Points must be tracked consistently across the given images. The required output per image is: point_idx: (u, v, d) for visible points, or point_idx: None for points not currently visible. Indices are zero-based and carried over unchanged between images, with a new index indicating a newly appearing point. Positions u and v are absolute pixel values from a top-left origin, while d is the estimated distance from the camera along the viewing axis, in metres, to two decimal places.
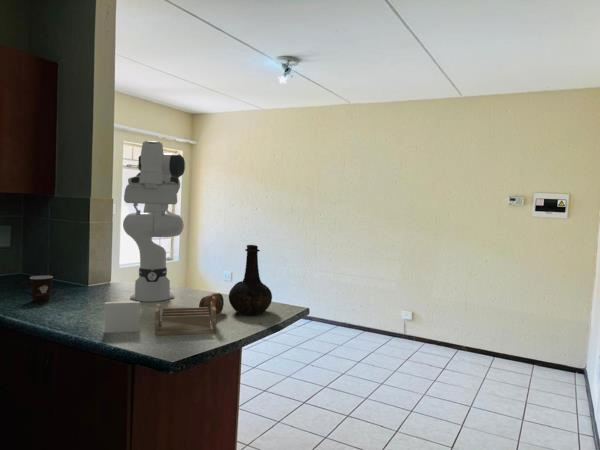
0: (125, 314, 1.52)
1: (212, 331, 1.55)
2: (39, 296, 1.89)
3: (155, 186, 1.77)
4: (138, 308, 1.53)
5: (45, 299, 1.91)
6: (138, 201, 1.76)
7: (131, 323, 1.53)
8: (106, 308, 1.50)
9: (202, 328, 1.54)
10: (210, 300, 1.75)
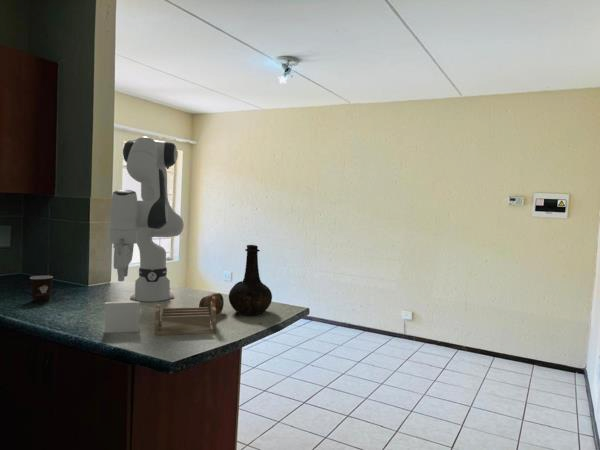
0: (125, 314, 1.52)
1: (212, 331, 1.55)
2: (39, 296, 1.89)
3: (114, 245, 1.49)
4: (138, 308, 1.53)
5: (45, 299, 1.91)
6: None
7: (131, 323, 1.53)
8: (106, 308, 1.50)
9: (202, 328, 1.54)
10: (210, 300, 1.75)
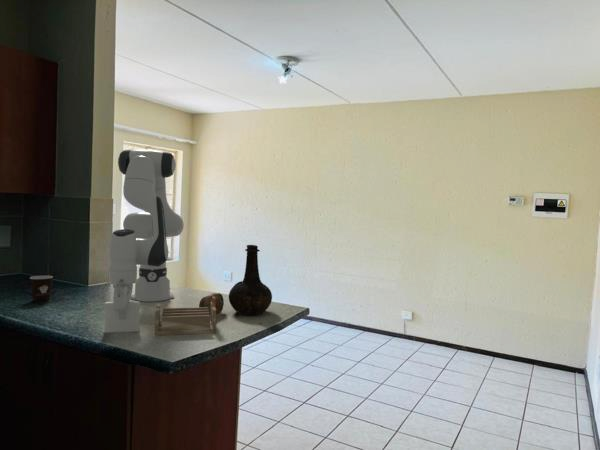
0: (125, 314, 1.52)
1: (212, 331, 1.55)
2: (39, 296, 1.89)
3: (114, 286, 1.50)
4: (138, 308, 1.53)
5: (45, 299, 1.91)
6: None
7: (131, 323, 1.53)
8: (106, 308, 1.50)
9: (202, 328, 1.54)
10: (210, 300, 1.75)
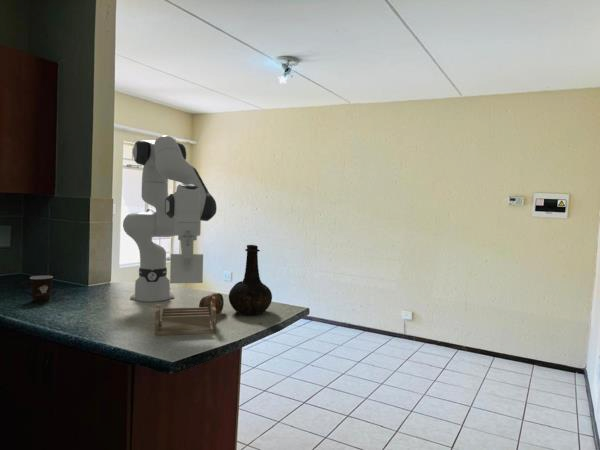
0: None
1: (212, 331, 1.55)
2: (39, 296, 1.89)
3: (179, 238, 1.55)
4: (202, 260, 1.58)
5: (45, 299, 1.91)
6: None
7: (195, 274, 1.57)
8: (172, 259, 1.55)
9: (202, 328, 1.54)
10: (210, 300, 1.75)
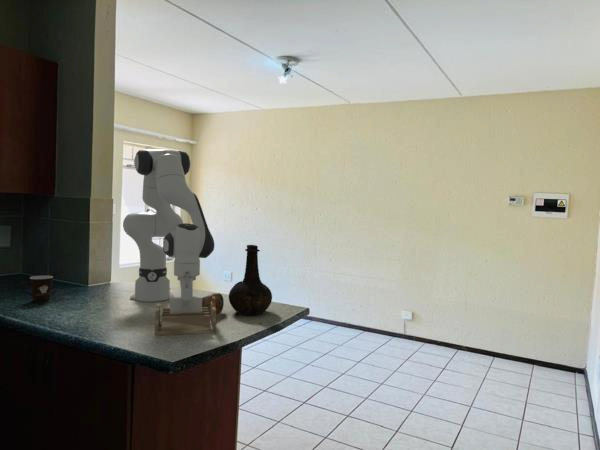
0: (189, 308, 1.58)
1: (212, 331, 1.55)
2: (39, 296, 1.89)
3: (179, 278, 1.55)
4: (201, 303, 1.59)
5: (45, 299, 1.91)
6: None
7: None
8: (171, 303, 1.56)
9: (202, 328, 1.54)
10: (210, 300, 1.75)
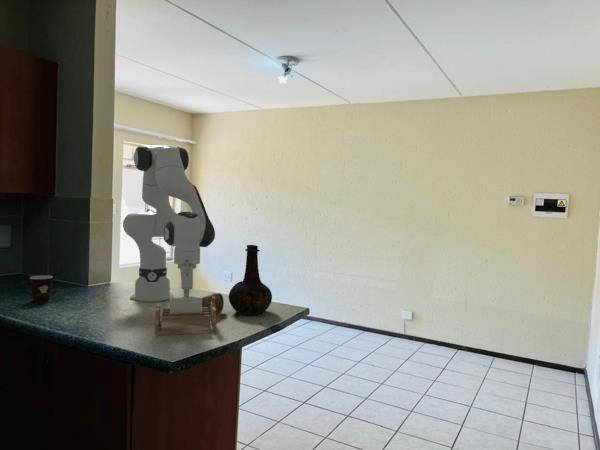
0: (189, 309, 1.58)
1: (212, 331, 1.55)
2: (39, 296, 1.89)
3: (179, 266, 1.55)
4: (201, 303, 1.59)
5: (45, 299, 1.91)
6: None
7: None
8: (171, 303, 1.56)
9: (202, 328, 1.54)
10: (210, 300, 1.75)
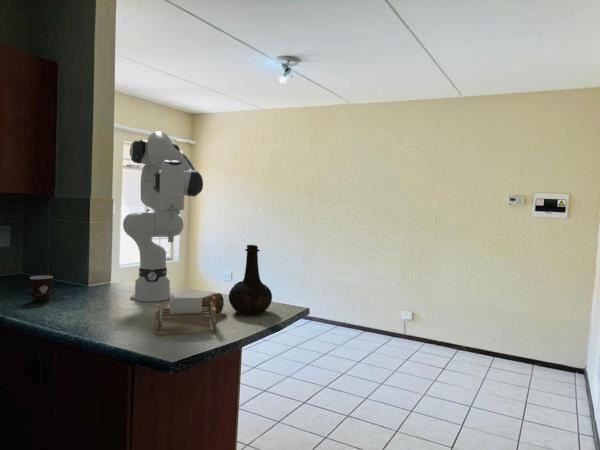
0: (189, 308, 1.58)
1: (212, 331, 1.55)
2: (39, 296, 1.89)
3: (163, 211, 1.62)
4: (201, 303, 1.59)
5: (45, 299, 1.91)
6: None
7: None
8: (171, 303, 1.56)
9: (202, 328, 1.54)
10: (210, 300, 1.75)
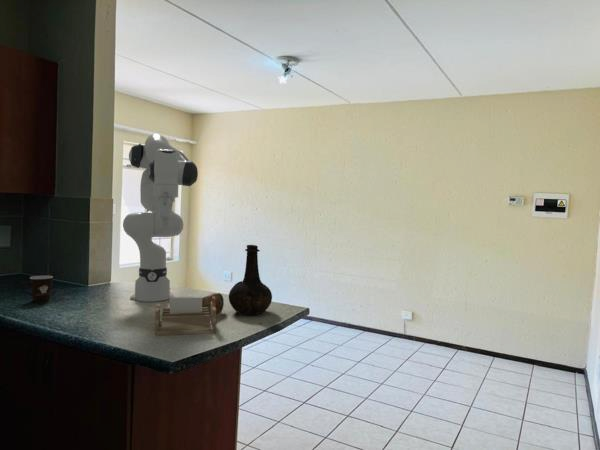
0: (189, 308, 1.58)
1: (212, 331, 1.55)
2: (39, 296, 1.89)
3: (158, 199, 1.65)
4: (201, 303, 1.59)
5: (45, 299, 1.91)
6: None
7: None
8: (171, 303, 1.56)
9: (202, 328, 1.54)
10: (210, 300, 1.75)
